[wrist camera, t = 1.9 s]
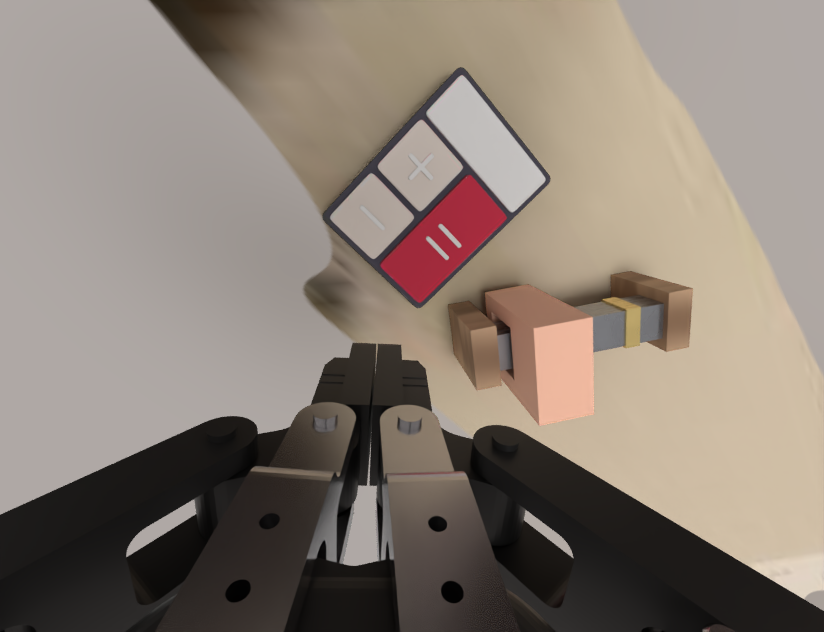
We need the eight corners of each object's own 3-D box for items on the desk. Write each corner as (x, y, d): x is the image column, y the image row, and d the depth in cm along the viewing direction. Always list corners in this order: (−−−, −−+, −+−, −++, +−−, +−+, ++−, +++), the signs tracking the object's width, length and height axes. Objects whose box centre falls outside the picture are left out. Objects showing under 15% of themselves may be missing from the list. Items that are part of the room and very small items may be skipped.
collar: (484, 292, 35) (533, 328, 26) (528, 284, 36) (592, 317, 26) (491, 366, 38) (539, 425, 28) (533, 358, 38) (593, 414, 28)
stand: (447, 304, 37) (470, 330, 30) (630, 271, 39) (692, 288, 32) (454, 354, 39) (476, 390, 32) (629, 320, 40) (688, 347, 33)
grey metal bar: (471, 324, 34) (482, 337, 31) (648, 290, 35) (677, 299, 32) (475, 359, 35) (486, 376, 32) (647, 326, 36) (675, 338, 33)
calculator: (318, 218, 30) (464, 60, 28) (324, 213, 34) (451, 75, 32) (419, 313, 34) (558, 179, 31) (414, 299, 38) (536, 179, 35)
